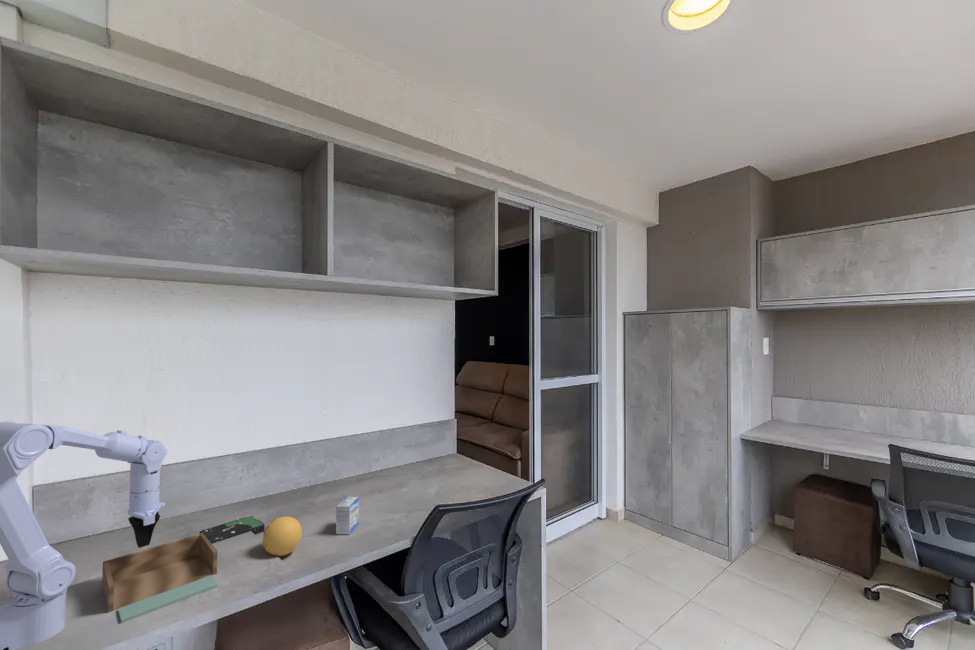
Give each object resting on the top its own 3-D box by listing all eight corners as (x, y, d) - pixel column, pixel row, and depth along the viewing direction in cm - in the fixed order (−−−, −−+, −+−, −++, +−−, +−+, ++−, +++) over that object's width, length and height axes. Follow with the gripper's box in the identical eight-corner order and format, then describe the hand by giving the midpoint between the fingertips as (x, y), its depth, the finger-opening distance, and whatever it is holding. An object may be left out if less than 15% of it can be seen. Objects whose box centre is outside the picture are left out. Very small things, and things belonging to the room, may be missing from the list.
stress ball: (304, 556, 116) (307, 521, 123) (294, 541, 109) (298, 505, 117) (266, 566, 114) (272, 530, 121) (253, 551, 107) (260, 514, 115)
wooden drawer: (108, 619, 88) (109, 586, 89) (101, 591, 98) (102, 561, 98) (216, 579, 103) (217, 551, 103) (202, 558, 113) (202, 532, 113)
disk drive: (210, 552, 117) (265, 532, 129) (210, 542, 117) (265, 523, 129) (198, 540, 124) (251, 522, 135) (198, 531, 124) (251, 514, 135)
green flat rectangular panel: (118, 615, 89) (121, 627, 85) (118, 608, 89) (121, 620, 85) (210, 581, 101) (217, 590, 98) (210, 575, 101) (217, 584, 98)
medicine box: (349, 535, 126) (350, 506, 127) (335, 534, 127) (335, 506, 127) (359, 523, 134) (359, 496, 134) (345, 523, 134) (346, 496, 135)
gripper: (171, 492, 99) (169, 549, 99) (159, 478, 109) (158, 530, 109) (132, 500, 94) (131, 561, 94) (124, 485, 104) (123, 539, 104)
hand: (143, 545), depth 101 cm, fingers closed
